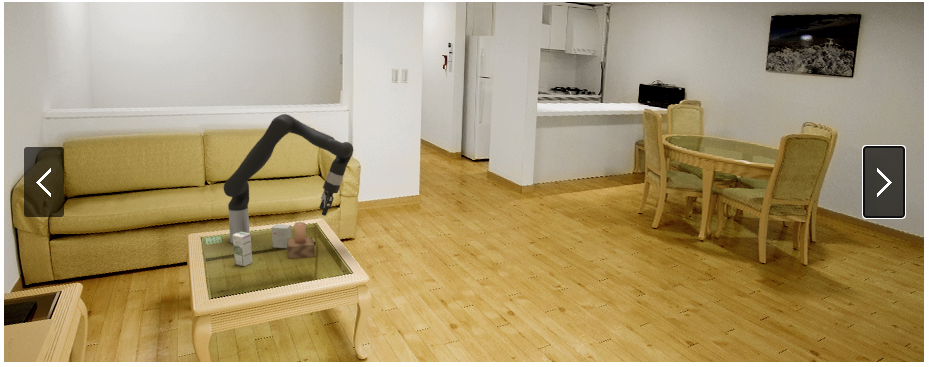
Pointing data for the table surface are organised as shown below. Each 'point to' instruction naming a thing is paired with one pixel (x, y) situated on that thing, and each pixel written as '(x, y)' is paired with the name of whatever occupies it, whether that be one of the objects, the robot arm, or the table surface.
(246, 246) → the syrup box
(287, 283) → the table surface
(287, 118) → the robot arm
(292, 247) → the walnut block
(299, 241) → the terracotta cylinder
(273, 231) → the small box
